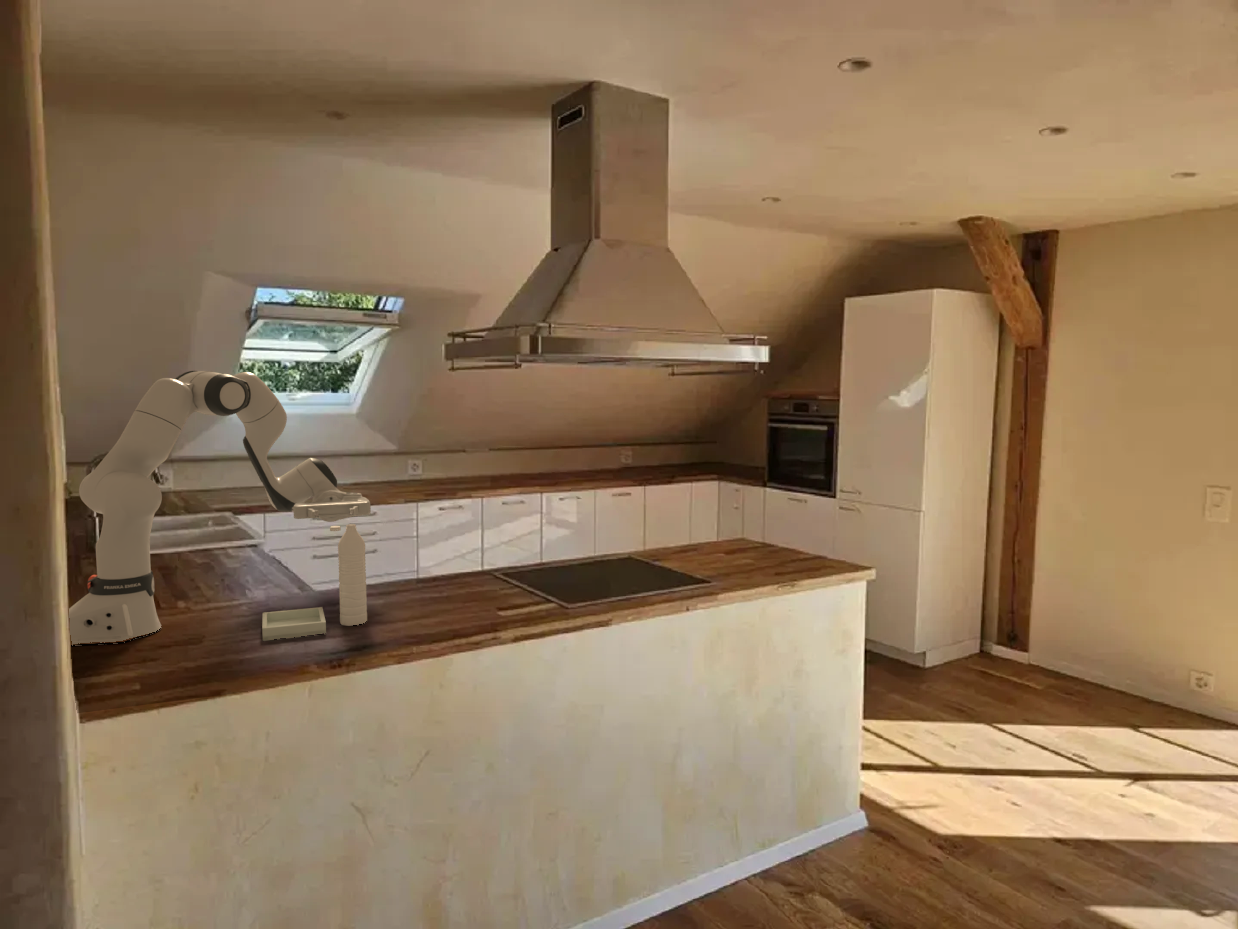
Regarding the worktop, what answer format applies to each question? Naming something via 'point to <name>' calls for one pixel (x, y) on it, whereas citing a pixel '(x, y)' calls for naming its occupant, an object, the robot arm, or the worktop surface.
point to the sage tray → (293, 623)
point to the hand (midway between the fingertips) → (334, 513)
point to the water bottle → (352, 576)
